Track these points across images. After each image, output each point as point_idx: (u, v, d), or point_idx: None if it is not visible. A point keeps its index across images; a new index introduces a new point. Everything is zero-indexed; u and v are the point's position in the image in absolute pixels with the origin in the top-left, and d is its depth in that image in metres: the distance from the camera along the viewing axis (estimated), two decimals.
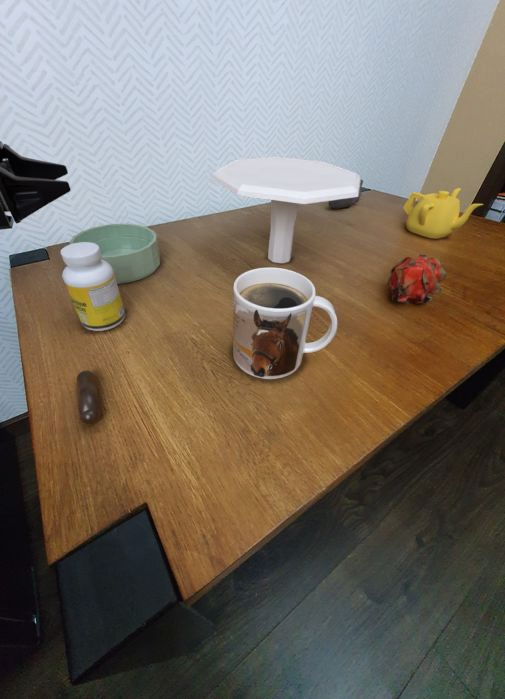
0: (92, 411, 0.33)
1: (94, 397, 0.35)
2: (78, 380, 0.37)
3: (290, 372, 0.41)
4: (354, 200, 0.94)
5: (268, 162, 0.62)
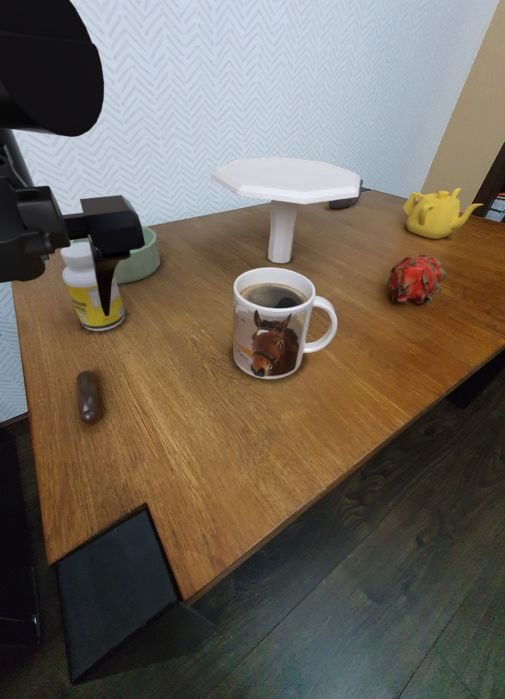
0: (92, 411, 0.33)
1: (94, 397, 0.35)
2: (78, 380, 0.37)
3: (290, 372, 0.41)
4: (354, 200, 0.94)
5: (268, 162, 0.62)
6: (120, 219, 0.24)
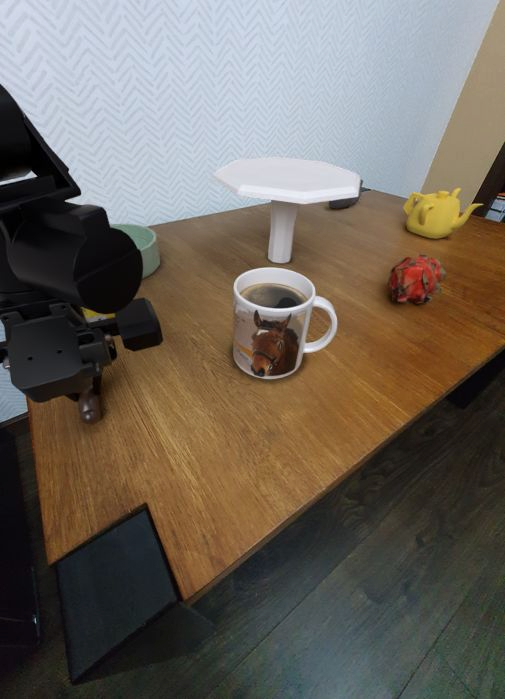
0: (92, 411, 0.33)
1: (94, 397, 0.35)
2: None
3: (290, 372, 0.41)
4: (354, 200, 0.94)
5: (268, 162, 0.62)
6: (145, 327, 0.30)
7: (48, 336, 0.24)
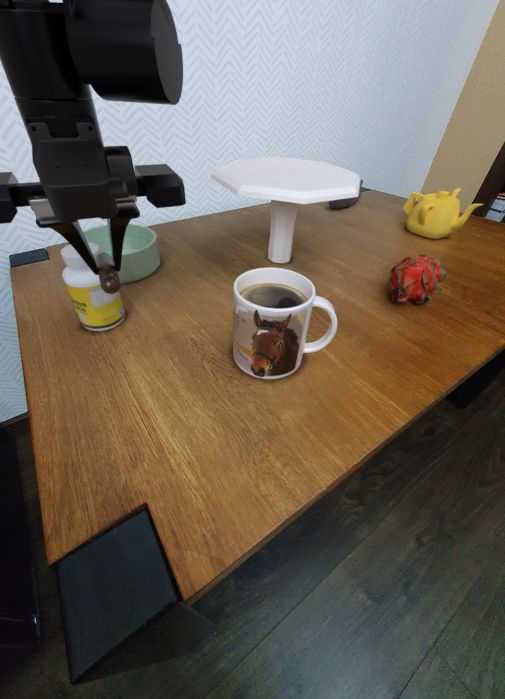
0: (113, 278, 0.33)
1: (114, 270, 0.35)
2: (98, 258, 0.36)
3: (290, 372, 0.41)
4: (354, 200, 0.94)
5: (268, 162, 0.62)
6: (169, 180, 0.30)
7: (75, 152, 0.24)
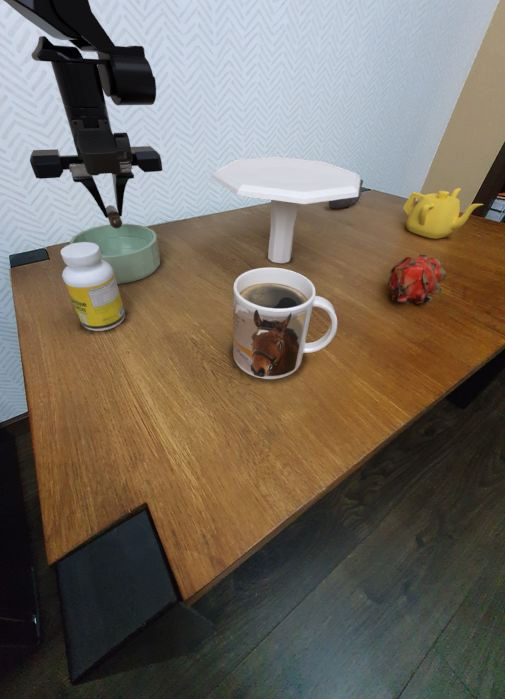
0: (117, 217, 0.53)
1: (118, 214, 0.54)
2: (107, 208, 0.56)
3: (290, 372, 0.41)
4: (354, 200, 0.94)
5: (268, 162, 0.62)
6: (151, 154, 0.50)
7: (98, 136, 0.44)
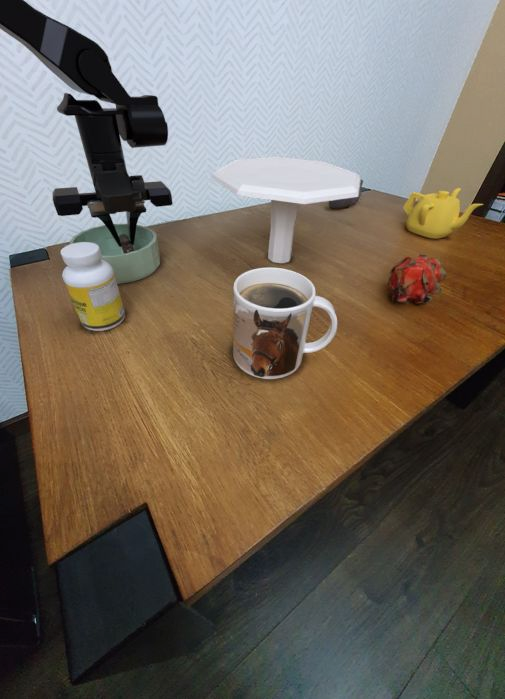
0: (130, 247, 0.57)
1: None
2: (120, 237, 0.60)
3: (290, 372, 0.41)
4: (354, 200, 0.94)
5: (268, 162, 0.62)
6: (162, 191, 0.54)
7: (115, 178, 0.48)
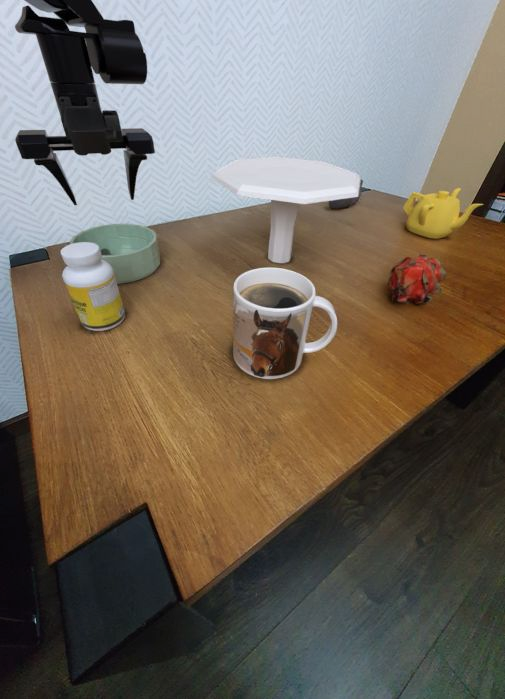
0: None
1: None
2: None
3: (290, 372, 0.41)
4: (354, 200, 0.94)
5: (268, 162, 0.62)
6: (143, 136, 0.48)
7: (86, 114, 0.42)
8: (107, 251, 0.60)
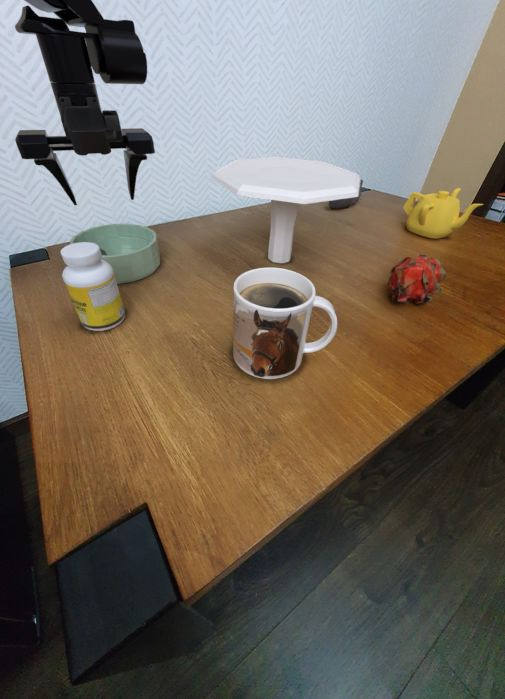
0: None
1: None
2: None
3: (290, 372, 0.41)
4: (354, 200, 0.94)
5: (268, 162, 0.62)
6: (143, 136, 0.48)
7: (86, 114, 0.42)
8: None
